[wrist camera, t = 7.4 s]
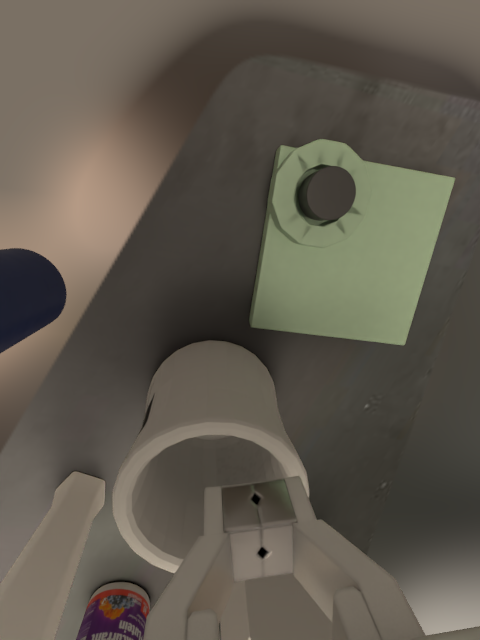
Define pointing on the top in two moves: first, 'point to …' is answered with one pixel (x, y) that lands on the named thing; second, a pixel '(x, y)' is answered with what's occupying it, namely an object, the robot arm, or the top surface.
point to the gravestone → (273, 612)
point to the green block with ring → (347, 248)
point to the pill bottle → (116, 613)
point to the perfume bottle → (49, 562)
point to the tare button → (327, 193)
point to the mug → (198, 447)
